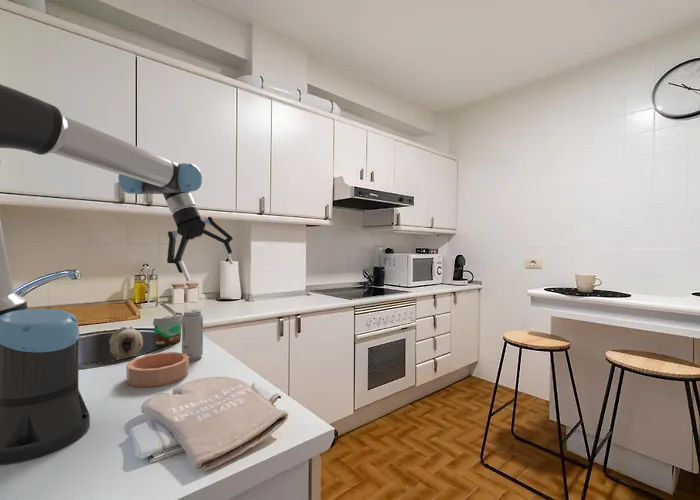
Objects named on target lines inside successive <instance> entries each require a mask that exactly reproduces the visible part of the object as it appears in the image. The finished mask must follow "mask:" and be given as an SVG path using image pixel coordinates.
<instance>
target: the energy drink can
mask: <svg viewBox="0 0 700 500" xmlns="http://www.w3.org/2000/svg"><path fill="white" fill-rule="evenodd" d="M203 347H204V315H203V313H202V310H201V309H187V310H185V311H183V316H182V328H181V353H185V354H186V355H188V356H189V361H195V360H196V361H197V360H199V359H200V358H202V356H203V354H204V353H203V352H204V349H203Z"/></svg>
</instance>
